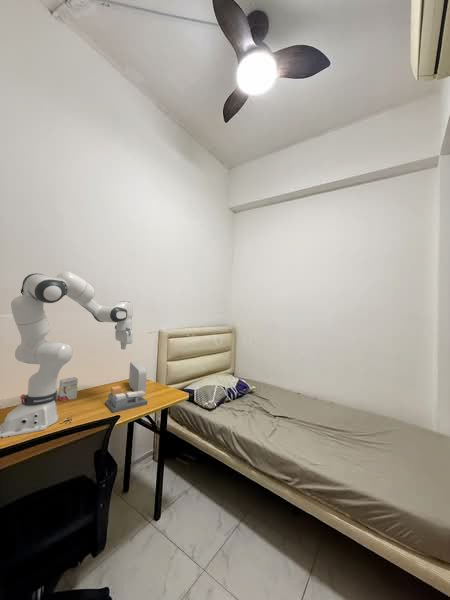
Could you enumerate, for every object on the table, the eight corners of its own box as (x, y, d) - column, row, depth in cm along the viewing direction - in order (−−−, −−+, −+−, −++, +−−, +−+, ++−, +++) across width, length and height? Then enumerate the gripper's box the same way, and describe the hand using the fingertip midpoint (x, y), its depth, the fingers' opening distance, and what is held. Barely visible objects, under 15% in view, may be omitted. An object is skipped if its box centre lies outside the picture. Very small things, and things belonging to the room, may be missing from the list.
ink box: (60, 401, 139) (61, 381, 139) (58, 399, 142) (59, 379, 142) (76, 398, 145) (78, 378, 145) (74, 395, 148) (75, 376, 149)
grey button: (117, 406, 130) (117, 397, 130) (114, 403, 134) (114, 394, 134) (125, 404, 133) (125, 395, 133) (122, 401, 137) (122, 393, 137)
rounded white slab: (148, 395, 155) (150, 369, 155) (137, 396, 151) (138, 370, 151) (138, 383, 177) (139, 360, 177) (128, 384, 173) (130, 361, 173)
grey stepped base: (113, 413, 127) (114, 402, 128) (105, 403, 138) (105, 393, 139) (147, 404, 140) (147, 394, 140) (137, 396, 151) (137, 387, 151)
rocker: (128, 397, 135) (128, 394, 135) (125, 395, 138) (126, 392, 138) (144, 395, 142) (145, 392, 142) (142, 393, 145) (142, 390, 145)
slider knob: (127, 398, 143) (127, 393, 143) (125, 396, 145) (125, 391, 145) (132, 396, 145) (132, 391, 145) (130, 395, 147) (130, 390, 147)
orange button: (112, 398, 136) (113, 389, 136) (110, 395, 139) (111, 387, 139) (120, 396, 139) (121, 387, 139) (118, 394, 142) (118, 385, 142)
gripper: (135, 328, 143) (134, 351, 142) (123, 325, 158) (122, 346, 157) (125, 328, 138) (123, 352, 138) (113, 325, 154) (112, 347, 153)
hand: (123, 349), depth 148 cm, fingers closed
